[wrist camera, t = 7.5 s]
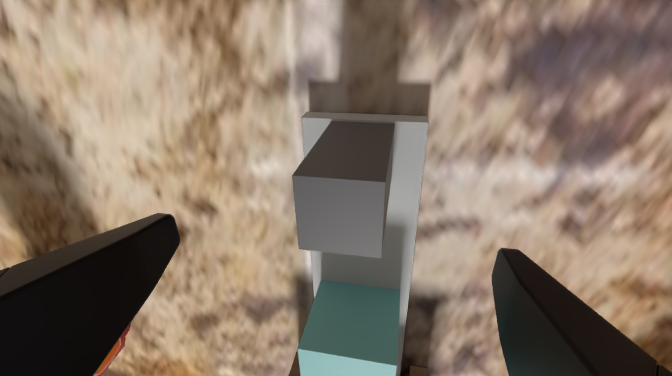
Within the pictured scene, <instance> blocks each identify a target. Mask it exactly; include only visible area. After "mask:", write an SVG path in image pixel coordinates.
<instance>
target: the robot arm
mask: <svg viewBox="0 0 672 376" xmlns="http://www.w3.org/2000/svg"><path fill="white" fill-rule="evenodd" d="M179 243H180V235H179V231H178V228H177V225H176V221H175V218H174V217H173V216H172V215H171V214H163V213H157V214H154V215H151V216H149V217H146V218H143V219H140V220H137V221H135V222H132V223H129V224H126V225H124V226H121V227H118V228H115V229H113V230H110V231H107V232H104V233H102V234H99V235H96V236H93V237H91V238H88V239H85V240H82V241H80V242H77V243H74V244H71V245H69V246H66V247H63V248H60V249H58V250H55V251H52V252H49V253H47V254H44V255H41V256H38V257H36V258H33V259H30V260H27V261H25V262H22V263H19V264H16V265H14V266H12V267H11V268H5V269H2V270H0V376H94V374H95V373H96V371H97V370H98V368H99V367H100V366H101V364H102V363H103V361H104V360H105V358H106V357H107V356H108V354H109V353H110V351H111V350H112V348H113V347H114V346H115V344H116V343H117V341H118V340H119V338H120V337H121V336H122V334H123V333H124V331H125V330H126V328H127V327H128V325H129V324H130V323H131V321H132V320H133V318H134V317H135V315H136V314H137V313H138V311H139V310H140V308H141V307H142V305H143V304H144V303H145V301H146V300H147V298H148V297H149V295H150V294H151V292H152V291H153V289H154V288H155V286H156V285H157V283H158V281H159V279H160V278H161V276H162V274H163V272H164V271H165V269H166V267H167V265H168V264H169V262H170V260H171V258H172V256H173V255H174V253H175V251H176V249H177V248H178V246H179ZM492 287H493V294H494V301H495V309H496V316H497V324H498V331H499V337H500V342H501V347H502V351H503V355H504V358H505V362H506V366H507V370H508V374H509V376H672V373H671V372H670V371H669V370H668V369H666V368H665V367H664V366H663V365H660V364H659V365H657V361H656V360H655V359H654V358H652V357H651V356H650V355H649V354H647V353H646V352H645V351H644V350H642V349H641V348H640V347H639V346H638V345H636V344H635V343H634V342H633V341H631V340H630V339H629V338H628V337H626V336H625V335H624V334H623V333H621V332H620V331H619V330H618V329H616V328H615V327H614V326H613V325H611V324H610V323H609V322H608V321H607V320H605V319H604V318H603V317H602V316H600V315H599V314H598V313H597V312H595V311H594V310H593V309H592V308H590V307H589V306H588V305H587V304H585V303H584V302H583V301H582V300H580V299H579V298H578V297H577V296H576V295H574V294H573V293H572V292H571V291H569V290H568V289H567V288H566V287H564V286H563V285H562V284H561V283H559V282H558V281H557V280H556V279H554V278H553V277H552V276H551V275H549V274H548V273H547V272H546V271H544V270H543V269H542V268H541V267H540V266H538V265H537V264H536V263H535V262H533V261H532V260H531V259H530V258H528V257H527V256H526V255H525V254H523V253H522V252H521V251H519V250H517V249H509V248H501V249H500V250H499V251H498V254H497V257H496V261H495V265H494V269H493V273H492Z"/></svg>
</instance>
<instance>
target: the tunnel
mask: <svg viewBox="0 0 672 376" xmlns="http://www.w3.org/2000/svg"><path fill="white" fill-rule="evenodd" d="M289 376H301V375H300V366H299V357H298V350H297V353H296V356H295V359H294V362H293V364H292V367H291V370H290V373H289ZM409 376H428V370H427V368H423V367H417V366H411V365H410V369H409Z"/></svg>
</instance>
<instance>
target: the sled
mask: <svg viewBox="0 0 672 376" xmlns="http://www.w3.org/2000/svg"><path fill="white" fill-rule="evenodd" d="M301 122H302V136H303V150H304V160H303V161H302V163H301V164H300V165H299V167H298V168H297V170H296V171H295V172H294V174H293V175H292V178H293V189H294V200H295V211H296V222H297V233H298V244H299V249H303V250H311V262H312V276H313V290H314V302H313V305H312V307H311V310H310V313H309V316H308V319H307V322H306V325H305V328H304V331H303V334H302V337H301V340H300V343H299V346H298V357H299V366H300V375H301V376H400V370H401V361H402V352H403V344H404V335H405V326H406V317H407V308H408V299H409V291H410V282H411V273H412V264H413V255H414V247H415V238H416V229H417V220H418V211H419V203H420V194H421V185H422V176H423V167H424V159H425V150H426V141H427V132H428V123H429V122H428V116H415V115H387V114H358V113H330V112H306V113H305V114H304V115H303V116H302V117H301Z"/></svg>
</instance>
